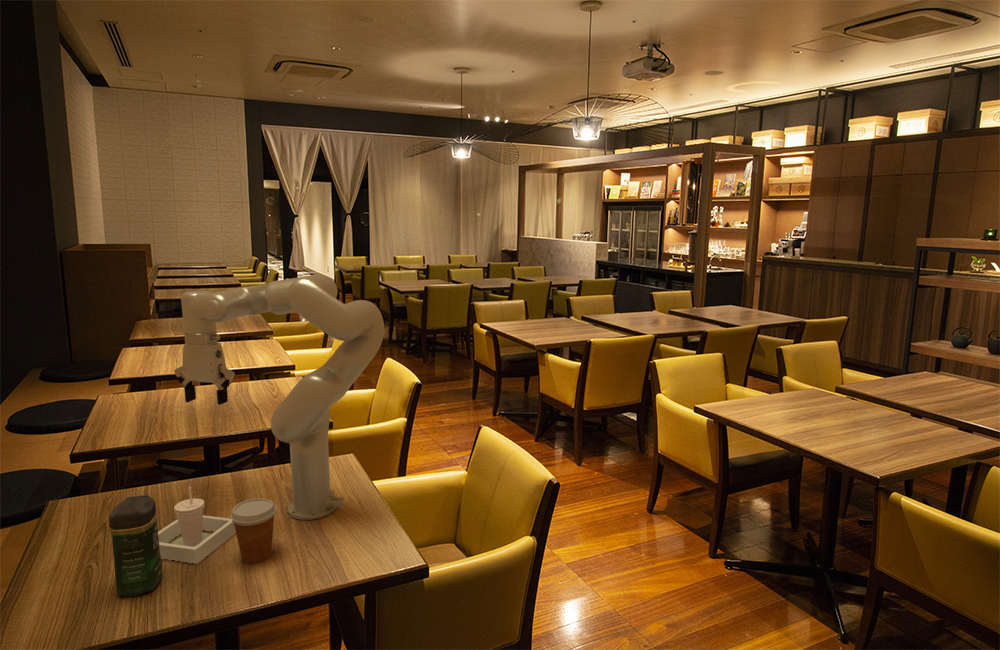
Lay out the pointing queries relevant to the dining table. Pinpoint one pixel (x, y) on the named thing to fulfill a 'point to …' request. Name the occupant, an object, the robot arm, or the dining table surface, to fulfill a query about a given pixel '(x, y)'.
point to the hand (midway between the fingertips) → (206, 401)
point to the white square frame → (190, 554)
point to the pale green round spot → (180, 542)
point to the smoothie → (190, 519)
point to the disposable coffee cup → (254, 528)
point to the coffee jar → (135, 545)
